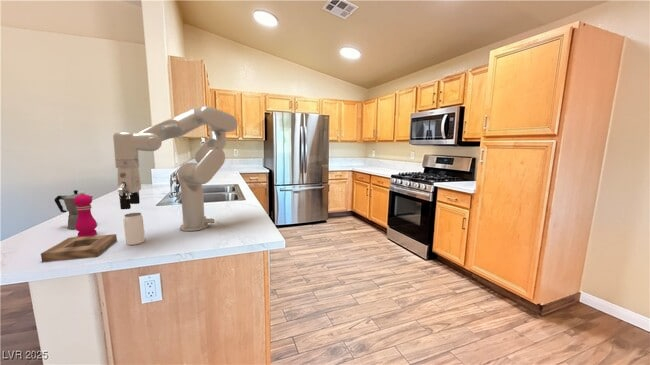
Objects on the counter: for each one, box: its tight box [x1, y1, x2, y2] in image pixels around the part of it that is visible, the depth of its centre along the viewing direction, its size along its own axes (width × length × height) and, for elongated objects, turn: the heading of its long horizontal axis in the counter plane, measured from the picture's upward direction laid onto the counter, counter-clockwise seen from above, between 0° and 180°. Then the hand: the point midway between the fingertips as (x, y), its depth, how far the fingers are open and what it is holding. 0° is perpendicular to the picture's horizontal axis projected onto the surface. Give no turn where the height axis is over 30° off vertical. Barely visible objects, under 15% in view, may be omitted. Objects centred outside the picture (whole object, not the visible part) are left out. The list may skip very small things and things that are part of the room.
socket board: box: [40, 233, 118, 263], centre depth 102 cm, size 16×16×3 cm
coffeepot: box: [54, 189, 93, 230], centre depth 128 cm, size 15×9×18 cm, turn 103°
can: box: [123, 212, 146, 246], centre depth 110 cm, size 6×6×12 cm
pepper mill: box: [74, 190, 98, 237], centre depth 116 cm, size 7×7×20 cm
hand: (130, 206), depth 108 cm, fingers open, 9 cm apart
